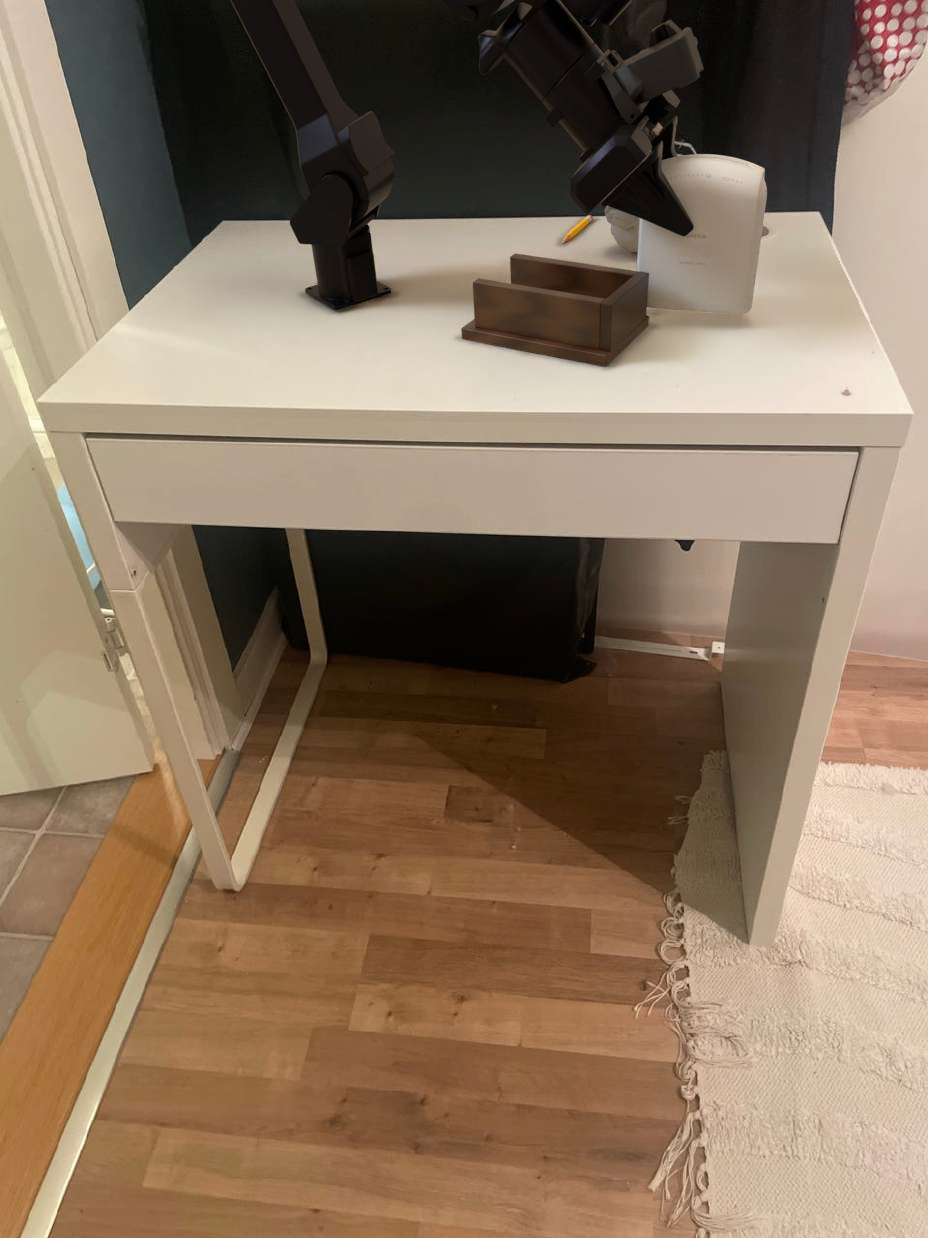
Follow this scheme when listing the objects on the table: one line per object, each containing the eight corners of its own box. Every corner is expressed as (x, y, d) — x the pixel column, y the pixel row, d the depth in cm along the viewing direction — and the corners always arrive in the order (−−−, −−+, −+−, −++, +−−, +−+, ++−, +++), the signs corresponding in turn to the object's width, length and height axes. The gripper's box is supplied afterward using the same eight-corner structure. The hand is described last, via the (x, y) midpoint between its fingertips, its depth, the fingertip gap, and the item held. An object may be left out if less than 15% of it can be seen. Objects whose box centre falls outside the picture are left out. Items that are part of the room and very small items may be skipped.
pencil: (593, 221, 107) (593, 215, 107) (565, 246, 102) (565, 239, 101) (586, 220, 108) (586, 214, 107) (558, 245, 102) (558, 239, 101)
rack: (461, 338, 84) (458, 282, 81) (510, 302, 90) (509, 248, 87) (606, 366, 78) (608, 307, 75) (648, 326, 84) (652, 269, 81)
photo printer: (628, 309, 84) (638, 160, 76) (639, 291, 87) (649, 145, 79) (747, 321, 81) (770, 166, 73) (754, 301, 84) (777, 151, 76)
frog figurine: (590, 256, 98) (591, 184, 94) (629, 236, 102) (632, 167, 98) (639, 267, 95) (643, 194, 91) (677, 247, 99) (683, 175, 94)
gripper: (621, 7, 64) (765, 187, 68) (664, -30, 77) (782, 123, 82) (510, 131, 71) (646, 288, 75) (567, 78, 84) (680, 213, 89)
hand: (693, 223), depth 80 cm, fingers closed on photo printer, 4 cm apart
